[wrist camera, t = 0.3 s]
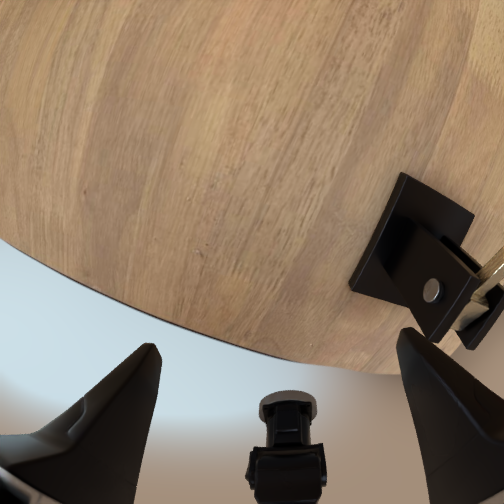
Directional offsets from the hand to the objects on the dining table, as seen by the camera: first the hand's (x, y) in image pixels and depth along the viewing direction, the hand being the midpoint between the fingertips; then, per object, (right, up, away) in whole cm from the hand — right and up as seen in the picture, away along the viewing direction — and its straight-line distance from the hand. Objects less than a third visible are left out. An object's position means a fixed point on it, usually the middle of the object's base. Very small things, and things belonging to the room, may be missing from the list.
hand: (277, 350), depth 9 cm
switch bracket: (+12, +4, +11) cm, 17 cm away
